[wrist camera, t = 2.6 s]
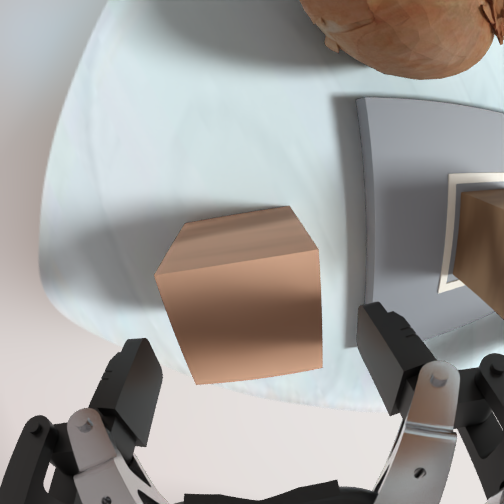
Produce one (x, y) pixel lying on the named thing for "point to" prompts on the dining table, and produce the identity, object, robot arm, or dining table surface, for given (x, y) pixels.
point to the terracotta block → (244, 296)
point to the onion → (410, 33)
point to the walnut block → (482, 246)
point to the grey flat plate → (424, 204)
